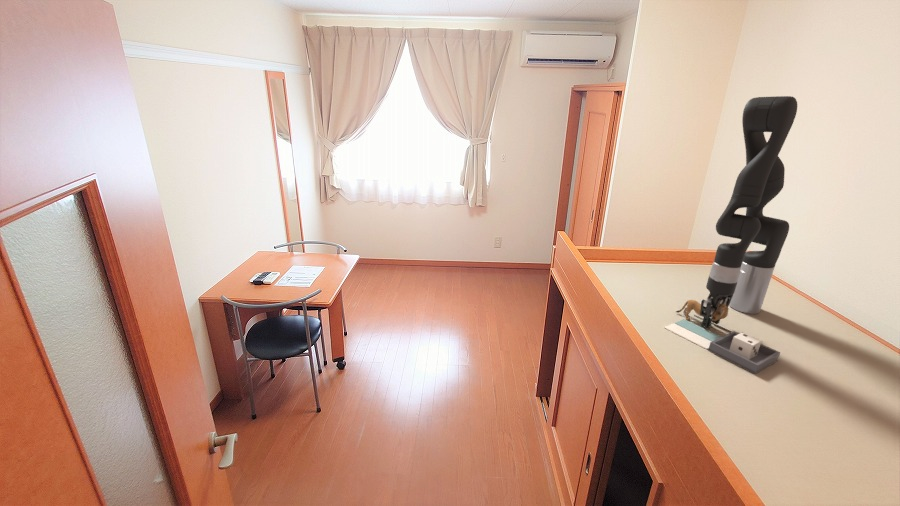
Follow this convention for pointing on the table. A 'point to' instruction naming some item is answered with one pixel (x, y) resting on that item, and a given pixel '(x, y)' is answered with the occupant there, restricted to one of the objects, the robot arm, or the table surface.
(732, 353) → the dice tray
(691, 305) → the lion figurine
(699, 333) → the track
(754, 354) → the die
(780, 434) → the table surface
